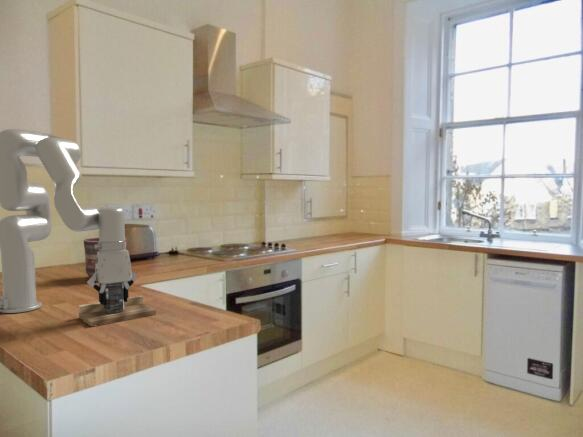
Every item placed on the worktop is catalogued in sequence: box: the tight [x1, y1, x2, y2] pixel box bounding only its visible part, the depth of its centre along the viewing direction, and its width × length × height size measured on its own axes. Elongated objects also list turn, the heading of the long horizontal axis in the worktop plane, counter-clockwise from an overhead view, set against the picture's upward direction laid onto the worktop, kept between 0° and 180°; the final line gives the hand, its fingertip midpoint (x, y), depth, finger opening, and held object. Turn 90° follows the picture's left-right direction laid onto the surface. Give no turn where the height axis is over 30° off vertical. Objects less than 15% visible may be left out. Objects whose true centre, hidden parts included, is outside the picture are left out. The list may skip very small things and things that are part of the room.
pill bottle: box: [104, 282, 124, 313], centre depth 143 cm, size 6×6×11 cm
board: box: [78, 295, 157, 327], centre depth 143 cm, size 20×12×4 cm, turn 130°
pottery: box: [83, 237, 128, 282], centre depth 202 cm, size 18×18×18 cm
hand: (114, 302), depth 143 cm, fingers closed on pill bottle, 5 cm apart
